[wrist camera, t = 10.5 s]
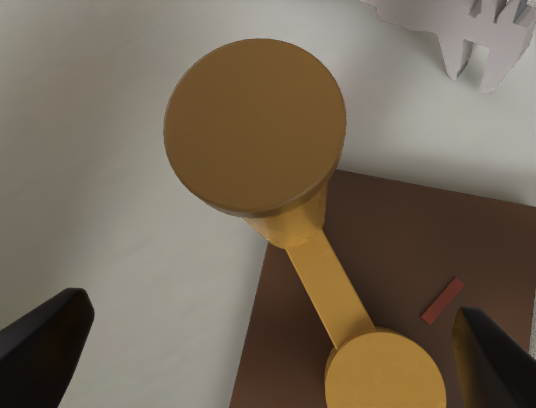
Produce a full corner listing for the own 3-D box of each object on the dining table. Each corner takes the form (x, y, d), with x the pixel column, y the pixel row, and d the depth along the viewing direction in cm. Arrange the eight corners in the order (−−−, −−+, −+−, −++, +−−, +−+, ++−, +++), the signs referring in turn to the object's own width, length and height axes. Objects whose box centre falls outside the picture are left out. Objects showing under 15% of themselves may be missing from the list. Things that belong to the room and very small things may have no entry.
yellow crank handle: (451, 407, 16) (708, 642, 5) (356, 455, 16) (425, 780, 6) (313, 161, 19) (304, -1, 8) (233, 203, 19) (122, 95, 8)
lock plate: (482, 646, 16) (495, 675, 15) (200, 542, 18) (192, 559, 17) (533, 212, 19) (547, 207, 18) (288, 165, 21) (287, 158, 20)
